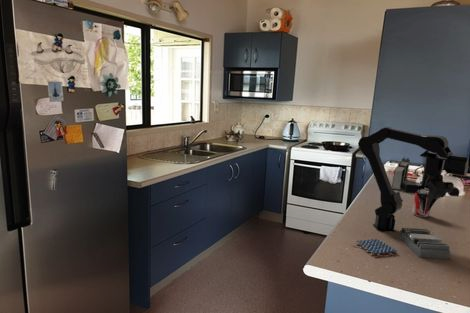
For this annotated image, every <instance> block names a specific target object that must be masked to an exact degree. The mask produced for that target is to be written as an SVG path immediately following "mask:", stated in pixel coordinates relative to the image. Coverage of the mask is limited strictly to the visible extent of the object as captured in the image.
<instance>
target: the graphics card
mask: <svg viewBox="0 0 470 313" xmlns="http://www.w3.org/2000/svg"><path fill="white" fill-rule="evenodd" d="M410 161H411V160H410V159H409V157H407V158H405V156H404V157H403V158H401V160H400V161H398V164H397V166H396V167H395V168H394V171H393V177H392V183H391V187H392V189H393V190H394V191H395V190H396V191H401V190H402V189H401V188H400V187H401V183H402V182H403V181H405V182H407V179H408V175H409V167H410Z"/></svg>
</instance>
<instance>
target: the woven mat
mask: <svg viewBox="0 0 470 313" xmlns="http://www.w3.org/2000/svg"><path fill="white" fill-rule="evenodd" d="M355 245H356V246H358V247H359V248H360V249H362V250H363V252H365V253H367V254H369V255H370V256H373V258H381V256H382V257H389V256H396V255H399V254H398V250H397V249H395V248H393V247H392V246H390V245H388V244H387V243H386V242H383V240H381V239H377V238H375V239H373V238H371V240H370V239H367V240H366V239H364V240H356V243H355Z"/></svg>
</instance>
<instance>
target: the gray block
mask: <svg viewBox="0 0 470 313" xmlns="http://www.w3.org/2000/svg"><path fill="white" fill-rule="evenodd" d="M407 236H408V237H409V238H410V239H411V240H412V239H413V238H418V239H419V242H433V243H443V239H442V238H440V237H439V236H438V235H437V234H434V235H425V234H410V233H409V234H407Z"/></svg>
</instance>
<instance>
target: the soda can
mask: <svg viewBox="0 0 470 313" xmlns="http://www.w3.org/2000/svg"><path fill="white" fill-rule="evenodd" d="M428 192H429V191H427V193H426V194H427V195H428ZM427 199H428V197H427V198H426V206H425V210H424V211H423V210H422V208H421V204H420V200H419V197H418V195H417V193H414V199H413V206H412V213H413V215H415V217H419V218H428V217H429V216H430V213H431V209H432V208H431V209H430V210H429V211H427Z"/></svg>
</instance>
